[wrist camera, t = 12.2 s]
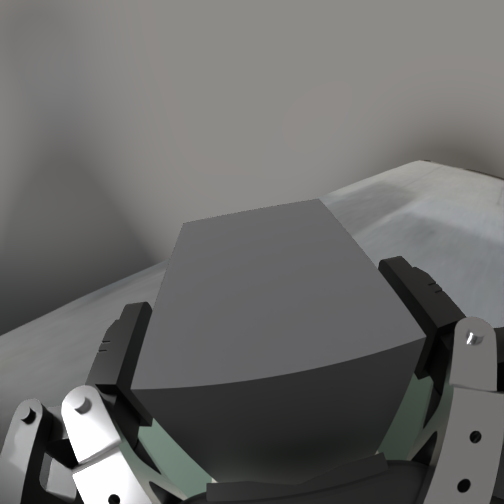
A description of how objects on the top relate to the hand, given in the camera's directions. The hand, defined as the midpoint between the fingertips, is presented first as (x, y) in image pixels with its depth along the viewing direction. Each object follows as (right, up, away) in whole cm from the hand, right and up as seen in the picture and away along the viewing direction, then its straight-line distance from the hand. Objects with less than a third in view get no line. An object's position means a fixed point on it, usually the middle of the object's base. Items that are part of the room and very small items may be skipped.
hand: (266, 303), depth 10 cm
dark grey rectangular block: (+1, -6, +1) cm, 6 cm away
